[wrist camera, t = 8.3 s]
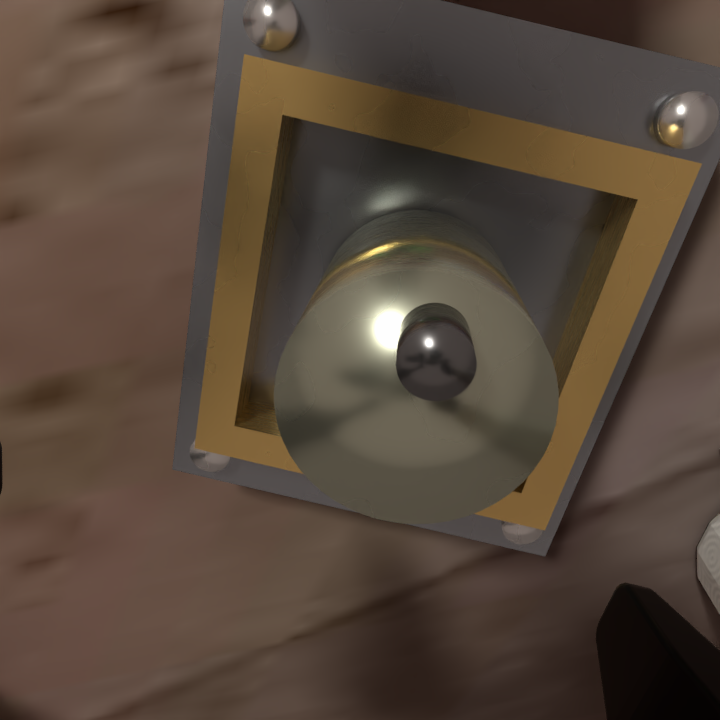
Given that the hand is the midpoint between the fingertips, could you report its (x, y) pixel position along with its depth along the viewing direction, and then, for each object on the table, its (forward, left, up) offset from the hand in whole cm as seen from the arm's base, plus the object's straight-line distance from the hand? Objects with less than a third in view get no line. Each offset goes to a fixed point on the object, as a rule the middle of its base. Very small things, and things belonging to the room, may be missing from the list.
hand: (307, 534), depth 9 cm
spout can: (+1, -1, -9) cm, 9 cm away
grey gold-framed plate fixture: (+1, -1, -12) cm, 12 cm away
